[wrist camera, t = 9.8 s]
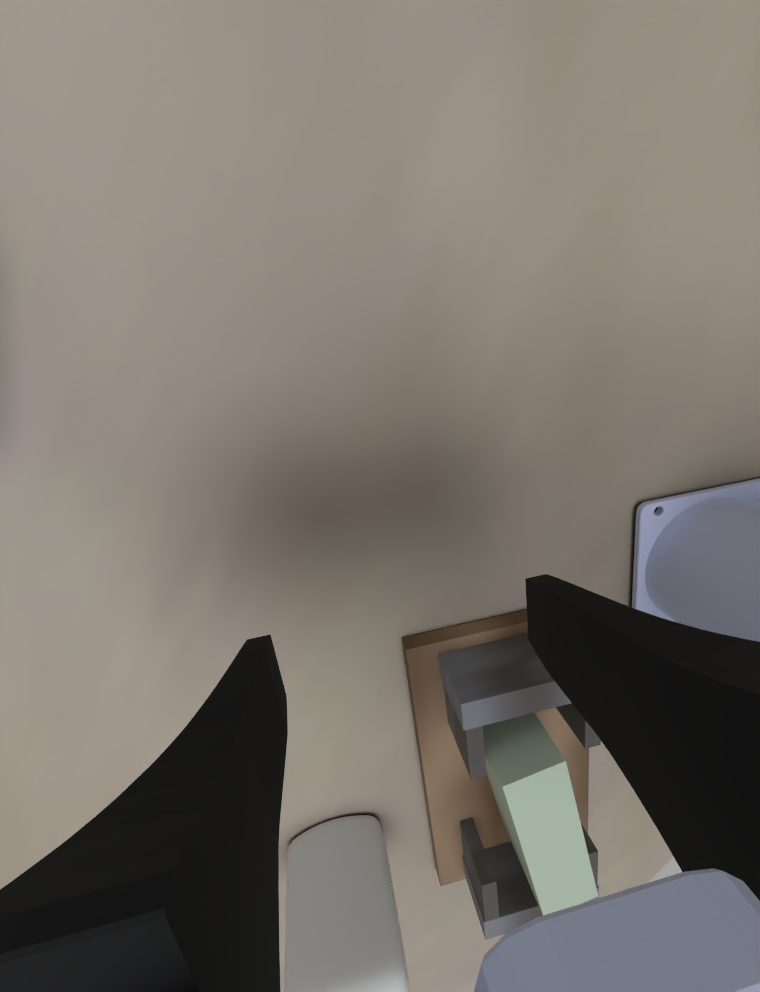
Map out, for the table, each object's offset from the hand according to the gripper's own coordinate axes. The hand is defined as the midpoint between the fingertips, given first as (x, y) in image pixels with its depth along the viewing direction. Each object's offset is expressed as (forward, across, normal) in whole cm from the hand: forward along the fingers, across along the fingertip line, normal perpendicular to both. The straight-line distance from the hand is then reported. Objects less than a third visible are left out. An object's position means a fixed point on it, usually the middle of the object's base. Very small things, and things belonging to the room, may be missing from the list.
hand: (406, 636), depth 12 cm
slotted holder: (+9, -6, +16) cm, 20 cm away
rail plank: (+8, -6, +16) cm, 19 cm away
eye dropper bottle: (+10, +5, +20) cm, 23 cm away
